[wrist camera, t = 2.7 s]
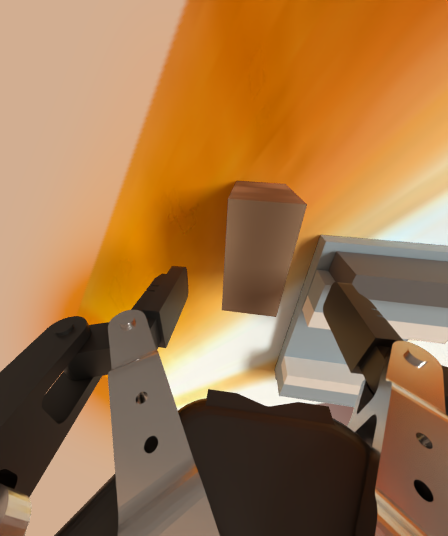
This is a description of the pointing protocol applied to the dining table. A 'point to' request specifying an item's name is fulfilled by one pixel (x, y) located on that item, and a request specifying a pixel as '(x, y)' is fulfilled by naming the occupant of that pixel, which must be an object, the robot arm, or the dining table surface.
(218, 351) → the dining table surface
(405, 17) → the dining table surface
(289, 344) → the vise
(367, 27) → the dining table surface
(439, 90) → the dining table surface
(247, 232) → the walnut block
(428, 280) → the vise jaw
